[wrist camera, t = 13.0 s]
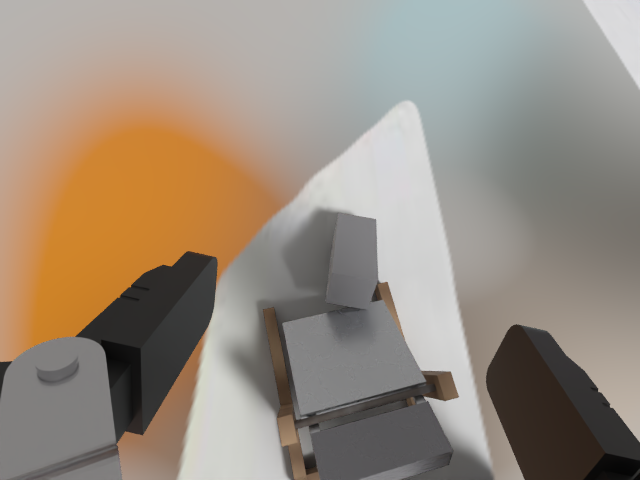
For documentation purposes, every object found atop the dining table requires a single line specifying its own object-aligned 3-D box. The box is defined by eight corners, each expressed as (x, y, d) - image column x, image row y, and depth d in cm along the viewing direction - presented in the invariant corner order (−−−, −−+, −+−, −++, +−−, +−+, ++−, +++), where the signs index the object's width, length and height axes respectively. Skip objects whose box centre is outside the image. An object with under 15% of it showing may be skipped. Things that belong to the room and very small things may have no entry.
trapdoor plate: (454, 462, 28) (460, 445, 26) (318, 505, 27) (315, 489, 25) (382, 317, 40) (383, 299, 39) (285, 340, 39) (282, 322, 37)
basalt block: (367, 309, 38) (367, 247, 45) (378, 280, 35) (375, 219, 42) (325, 302, 38) (332, 241, 45) (332, 272, 35) (338, 212, 42)
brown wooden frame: (430, 446, 38) (485, 477, 27) (296, 486, 36) (298, 537, 25) (383, 285, 44) (413, 258, 33) (264, 312, 42) (254, 292, 31)
